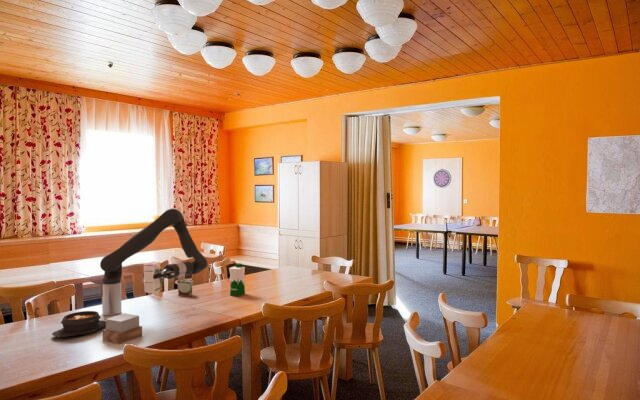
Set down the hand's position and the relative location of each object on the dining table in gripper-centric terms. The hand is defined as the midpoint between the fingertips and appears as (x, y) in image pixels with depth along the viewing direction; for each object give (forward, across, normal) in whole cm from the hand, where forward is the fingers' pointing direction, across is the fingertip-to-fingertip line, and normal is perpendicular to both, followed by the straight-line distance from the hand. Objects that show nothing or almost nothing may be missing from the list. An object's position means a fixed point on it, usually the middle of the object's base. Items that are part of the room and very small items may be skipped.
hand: (148, 276), depth 208 cm
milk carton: (-74, -8, +27) cm, 79 cm away
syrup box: (-2, 0, +8) cm, 8 cm away
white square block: (+15, 0, +22) cm, 26 cm away
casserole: (+19, -26, +27) cm, 42 cm away
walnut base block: (+15, 0, +27) cm, 30 cm away
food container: (-58, -37, +27) cm, 74 cm away
